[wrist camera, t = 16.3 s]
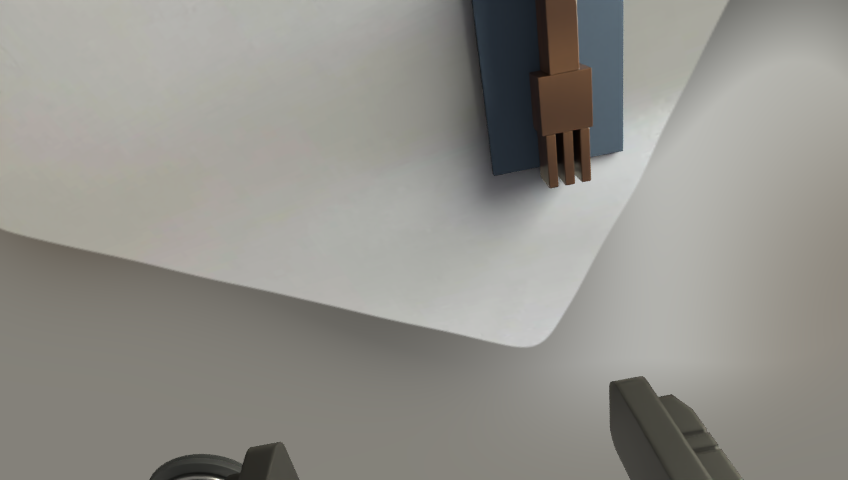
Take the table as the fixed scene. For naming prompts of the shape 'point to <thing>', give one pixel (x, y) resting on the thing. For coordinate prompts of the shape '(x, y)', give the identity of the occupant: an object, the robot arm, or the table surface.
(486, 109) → the mat
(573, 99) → the fork
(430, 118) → the table surface
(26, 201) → the table surface
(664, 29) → the table surface
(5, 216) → the table surface
